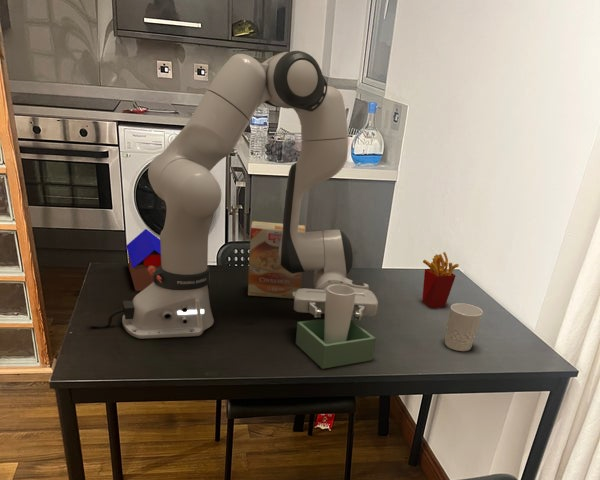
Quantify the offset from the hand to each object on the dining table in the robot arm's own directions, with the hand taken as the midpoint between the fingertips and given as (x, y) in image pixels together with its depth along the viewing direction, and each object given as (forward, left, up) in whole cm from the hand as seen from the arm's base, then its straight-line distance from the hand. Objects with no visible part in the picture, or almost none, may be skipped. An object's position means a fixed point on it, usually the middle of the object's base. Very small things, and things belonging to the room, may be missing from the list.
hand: (338, 315), depth 138 cm
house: (-27, +60, -10) cm, 66 cm away
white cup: (+33, -6, -10) cm, 35 cm away
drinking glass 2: (+1, +1, -9) cm, 9 cm away
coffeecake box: (+3, +39, -10) cm, 41 cm away
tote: (0, +1, -10) cm, 10 cm away
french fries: (+44, +20, -10) cm, 50 cm away
